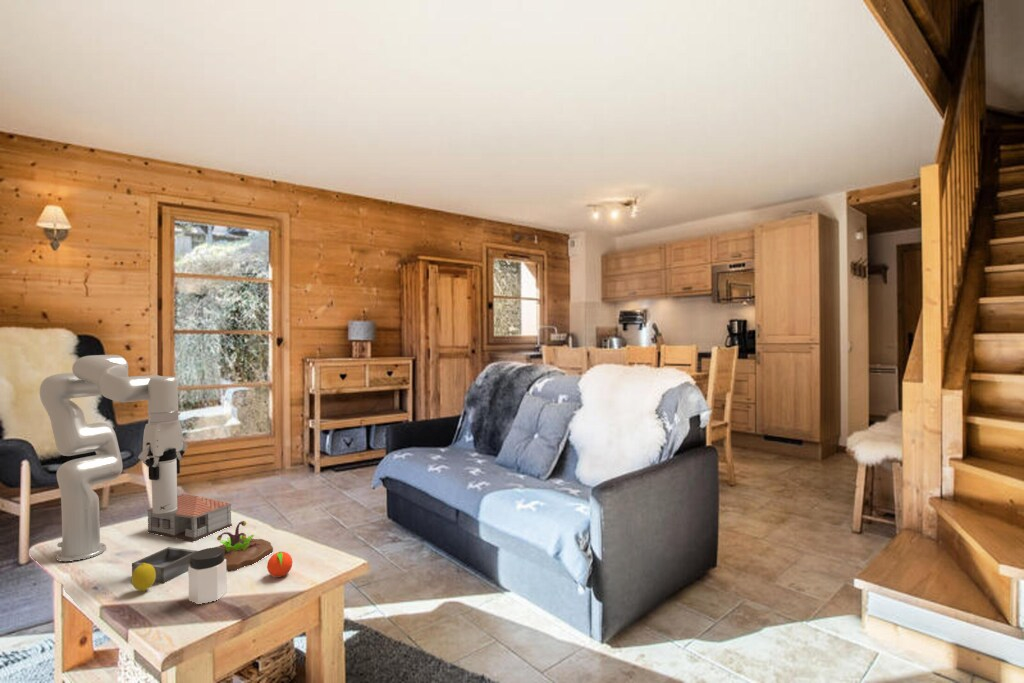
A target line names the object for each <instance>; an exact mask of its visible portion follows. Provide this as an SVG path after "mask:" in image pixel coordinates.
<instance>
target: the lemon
mask: <svg viewBox="0 0 1024 683" xmlns="http://www.w3.org/2000/svg"><path fill="white" fill-rule="evenodd" d="M155 578H156V572H155V569H154V567H153V566H152V565H151V564H147V563H142V564H141V565H139V566H138V567H137V568H136V569H135V570H134V572H133V574H132V573H131V585H132V587H133V588H134V589H135V590H137V591H141V592H145V591H147V590H148V589H149V588H151V587H152V586H153V585H154V583H155V582H154V581H155Z"/></svg>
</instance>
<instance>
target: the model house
mask: <svg viewBox="0 0 1024 683" xmlns="http://www.w3.org/2000/svg"><path fill="white" fill-rule="evenodd" d="M146 511H147V533H148V532H149V533H148V534H150V533H154V534H153V535H155V534H158V535H157V536H160V535H162V537H166V538H172V539H176V538H177V539H178V540H181V539H182V541H186V540H188V542H192V541H195V542H196V541H200V540H202V539H204V538H203V537H205V538H207V537H209V536H208V535H210V534H212V535H214V534H213V533H215V532H217V531H220V530H222V529H224V528H227V527H229V528H231V527H230V526H232V527H233V524H232V503H231V502H230V503H229V502H225V501H222V500H221V501H220V500H216V499H211V498H208V497H207V498H206V497H203V496H197V495H191V494H184V493H182V494H180V495H179V493H177V513H175V514H173V515H171V516H167V517H154V516H153V510H152V507H149V508H148V509H147V510H146ZM227 529H228V528H227ZM224 530H225V529H224ZM222 531H223V530H222ZM220 532H221V531H220ZM217 533H218V532H217ZM215 534H216V533H215ZM206 536H207V537H206ZM210 536H211V535H210ZM201 538H202V539H201ZM199 539H200V540H199Z"/></svg>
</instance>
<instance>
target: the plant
mask: <svg viewBox="0 0 1024 683" xmlns="http://www.w3.org/2000/svg"><path fill="white" fill-rule="evenodd" d="M240 525H241V526H242V527H245V526H246V525H247V521H245V520H242V521H240V522H238V523H237V525H236V527H235V532H234V534H233V533H232V532H228V531H224V532H222V533H221V534H220V535H218V536H217V537H216V539H217V541H219V542H220V543H221V544H220V545H219V546H214V547H213V548H222V549H224V559H226V570H233V571H238V570H240V569H242V568H245V567H244V566H246V567H248V566H247V565H251V566H253V565H252V564H254V563H256V562H257V563H259V562H260V561H259V560H261V559H262V558H264V557H265V556H267V555H269V554H270V553H272V552H273V553H274V547H273V545H272V543H271V542H270V541H268V540H265V539H263V538H253V537H255V535H254V534H251V535H249V536H247V535H246V534H245V533H244V532H240ZM239 532H240V533H239ZM224 535H227V536H228V537H227V538H226V540H223V539H222V538H223V536H224ZM264 559H265V558H264ZM258 561H259V562H258ZM261 561H262V560H261ZM257 563H256V564H257ZM254 565H255V564H254ZM237 569H238V570H237Z"/></svg>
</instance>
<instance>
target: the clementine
mask: <svg viewBox="0 0 1024 683" xmlns="http://www.w3.org/2000/svg"><path fill="white" fill-rule="evenodd" d="M292 566H293V557H292V556H291V554H289V553H288V552H287V551H277V552H275V553H273V554H271V555H270V557H269V559H268V560H267V566H266V569H267V572H268V573H269V574H270V575H271V576H272V577H274V578H281V577H283V576H285V575H287V574H288V573H289V572H290V571H291V569H292Z"/></svg>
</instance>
